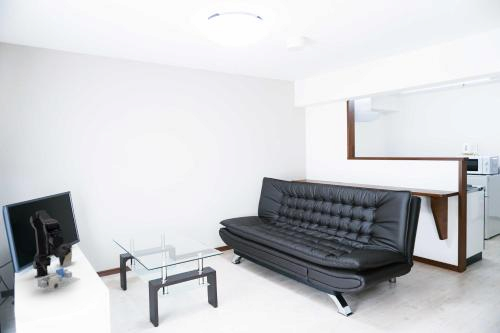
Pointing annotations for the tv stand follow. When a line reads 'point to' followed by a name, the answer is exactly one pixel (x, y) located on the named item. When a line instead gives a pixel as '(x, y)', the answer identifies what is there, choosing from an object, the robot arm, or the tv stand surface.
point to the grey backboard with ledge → (63, 276)
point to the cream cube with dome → (53, 282)
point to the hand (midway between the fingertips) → (53, 268)
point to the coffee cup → (68, 258)
